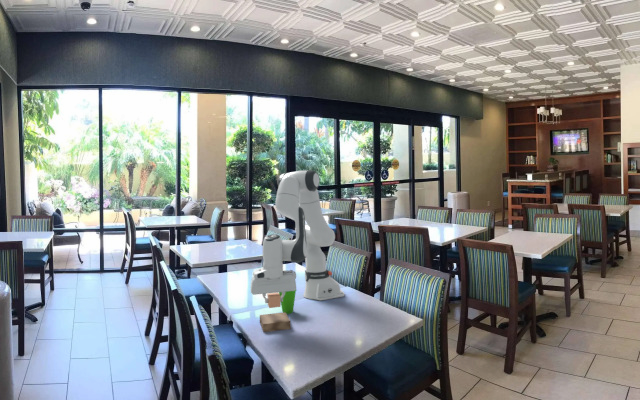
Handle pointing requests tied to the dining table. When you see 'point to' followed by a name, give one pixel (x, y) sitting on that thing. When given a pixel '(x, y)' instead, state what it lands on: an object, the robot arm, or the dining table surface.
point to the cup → (288, 301)
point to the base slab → (275, 322)
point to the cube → (274, 300)
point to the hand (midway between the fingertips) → (273, 302)
